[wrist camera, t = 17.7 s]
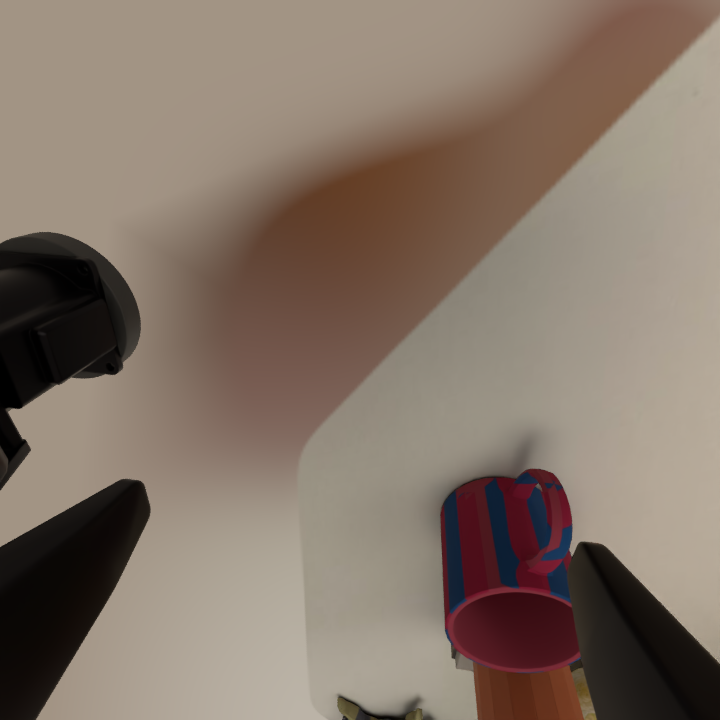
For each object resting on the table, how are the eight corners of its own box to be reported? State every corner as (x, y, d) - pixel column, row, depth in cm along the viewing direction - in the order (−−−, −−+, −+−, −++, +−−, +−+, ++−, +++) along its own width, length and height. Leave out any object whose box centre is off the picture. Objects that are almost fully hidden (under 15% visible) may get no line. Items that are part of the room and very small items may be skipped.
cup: (425, 536, 27) (425, 649, 21) (488, 417, 22) (511, 519, 16) (524, 566, 27) (552, 687, 21) (608, 453, 22) (676, 569, 16)
